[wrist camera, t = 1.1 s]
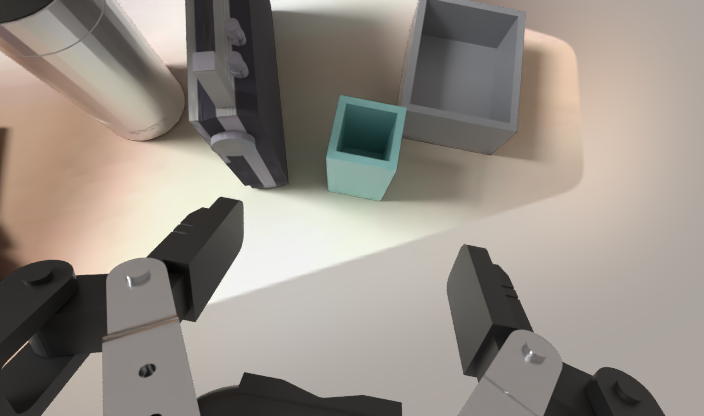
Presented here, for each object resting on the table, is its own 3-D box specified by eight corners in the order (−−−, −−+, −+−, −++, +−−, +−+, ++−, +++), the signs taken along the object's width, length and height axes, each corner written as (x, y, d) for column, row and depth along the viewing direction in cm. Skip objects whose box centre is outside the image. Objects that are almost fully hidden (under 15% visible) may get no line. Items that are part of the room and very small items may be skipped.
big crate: (490, 155, 40) (516, 131, 34) (391, 135, 40) (400, 109, 34) (500, 49, 43) (525, 11, 38) (409, 31, 43) (421, -9, 38)
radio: (230, 13, 43) (142, -216, 23) (271, 10, 43) (220, -217, 24) (242, 196, 37) (141, 96, 18) (289, 191, 38) (242, 86, 18)
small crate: (380, 201, 38) (396, 170, 28) (328, 191, 38) (325, 157, 28) (388, 152, 39) (406, 107, 30) (338, 142, 39) (339, 94, 30)
